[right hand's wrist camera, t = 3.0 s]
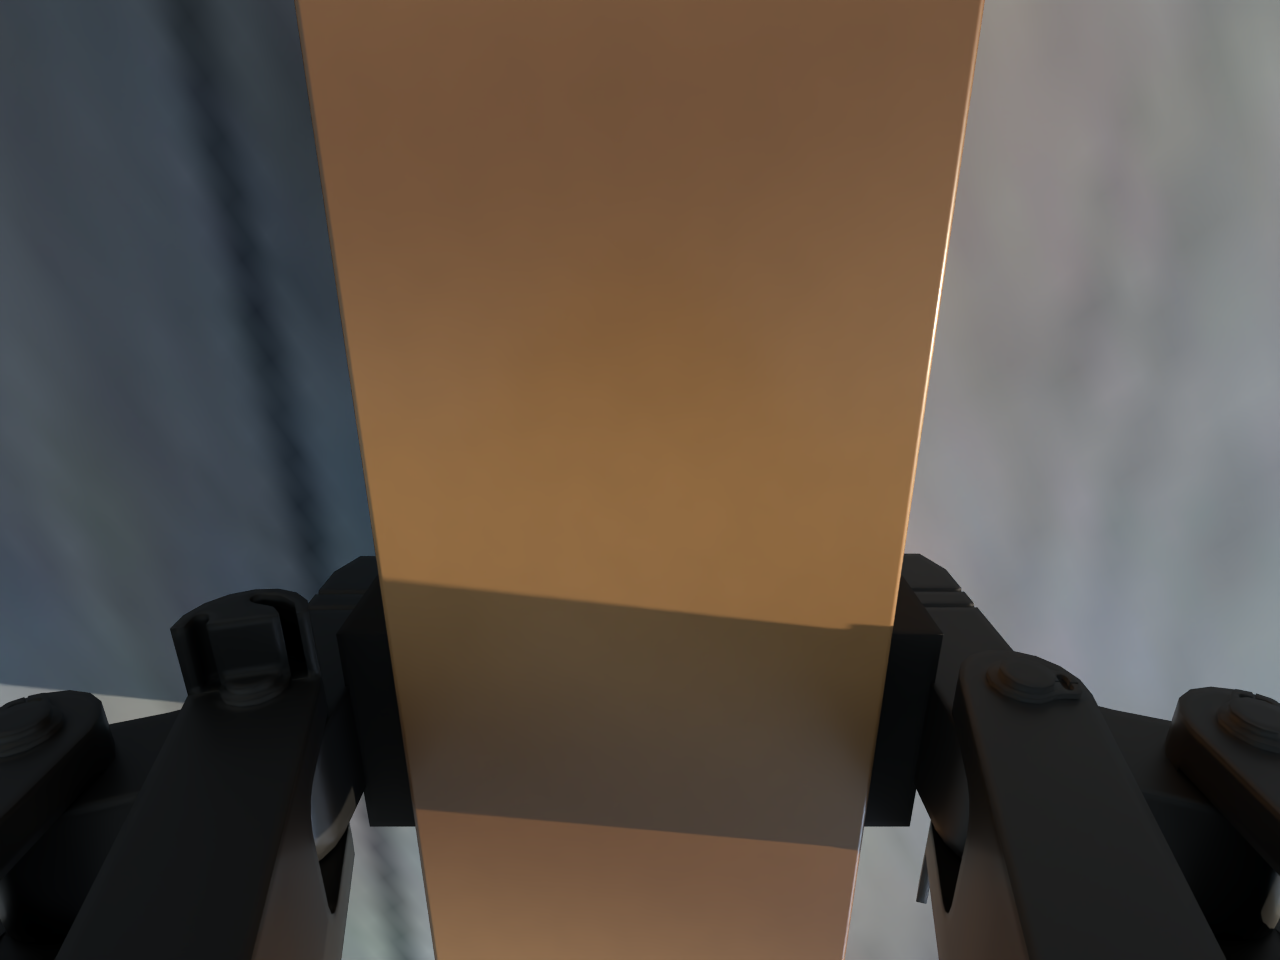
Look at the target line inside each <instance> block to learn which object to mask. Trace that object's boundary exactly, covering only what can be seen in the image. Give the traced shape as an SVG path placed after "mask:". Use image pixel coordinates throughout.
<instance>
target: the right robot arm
mask: <svg viewBox="0 0 1280 960" xmlns="http://www.w3.org/2000/svg"><path fill="white" fill-rule="evenodd" d="M170 631H171V634H172V638H173V642H174V645H175V649H176V653H177V656H178V660H179V664H180V667H181V671H182V675H183V678H184V682H185V686H186V689H187V693H188V697H187V699H186V701H185V703H184V705H183V706H182V708H181V710H177V711H173V712H169V713H165V714H160V715H155V716H150V717H144V718H139V719H134V720H129V721H124V722H119V723H114V724H108V721H107V717H106V714H105V711H104V708H103V705H102V702H101V701H100V700H99V699H98V698H96V697H95V696H94V695H92V694H91V693H87V692H79V691H72V690H67V691H59V692H50V693H40V694H35V695H31V696H28V698H24V697H23V698H20V699H17V700H14V701H11V702H8V703H6V704H5V705H3V706H2V707H0V960H341V958H342V950H343V942H344V934H345V926H346V918H347V910H348V903H349V895H350V887H351V879H352V871H353V863H354V855H355V853H354V846H353V839H352V833H351V828H350V823H349V822H350V819H351V817H352V815H353V813H354V811H355V809H356V807H357V805H358V802H359V800H360V798H361V796H362V794H363V792H364V796H365V801H366V807H367V813H368V818H369V824H370V826H415V819H414V813H413V806H412V799H411V792H410V785H409V779H408V772H407V765H406V758H405V751H404V744H403V738H402V731H401V724H400V717H399V710H398V704H397V697H396V690H395V683H394V676H393V670H392V663H391V656H390V649H389V642H388V636H387V629H386V622H385V615H384V608H383V602H382V595H381V588H380V581H379V574H378V567H377V561H376V556H360V557H358V558H357V559H355V560H353V561H352V562H350V563H348V564H347V565H345V566H343V567H342V568H340V569H338V570H337V571H335V572H334V573H333V574H332V575H331V576H330V578H329V579H328V580H327V581H326V583H325V584H324V585H323V586H322V587H321V589H320V590H319V594H316V595H315V596H314V597H313V598H312V600H311V601H310V602H309V603H308V601H307V600H306V599H305V598H303V597H302V596H301V595H299V594H298V593H296V592H292V591H287V590H282V589H255V590H250V591H245V592H240V593H235V594H229V595H227V596H224V597H221V598H218V599H215V600H213V601H210V602H207V603H204V604H202V605H201V606H199V607H197V608H195V609H194V610H192V611H190V612H188V613H187V614H185V615H183V616H182V617H181V618H180V619H179V620H178V621H177V622H176V623H175V624H174V625H173V626H172V627H171V628H170ZM916 789H917V791H918V793H919V795H920V797H921V800H922V802H923V804H924V806H925V808H926V810H927V812H928V815H929V817H930V819H931V823H930V828H929V833H928V839H927V844H926V849H925V854H924V860H923V865H922V870H921V876H920V881H919V886H918V893H917V900H916V902H921V903H925V904H926V903H927V898H928V893H929V888H930V893H931V901H932V909H933V916H934V924H935V932H936V940H937V948H938V956H939V960H1280V703H1278V702H1277V701H1275V700H1273V699H1271V698H1268V697H1265V696H1262V695H1259V694H1256V695H1254V694H1253V693H1252V692H1248V691H1243V690H1238V689H1226V688H1217V687H1205V688H1198V689H1190V690H1189V691H1188V692H1186V693H1185V694H1184V695H1182V696H1181V697H1180V698H1179V700H1178V703H1177V706H1176V709H1175V712H1174V716H1173V719H1172V721H1168V720H1163V719H1158V718H1152V717H1147V716H1142V715H1137V714H1132V713H1127V712H1122V711H1117V710H1112V709H1108V708H1104V707H1100V706H1098V705H1097V703H1096V701H1095V699H1094V697H1093V695H1092V694H1091V693H1090V691H1089V690H1088V689H1087V688H1086V686H1085V685H1084V684H1083V683H1082V682H1081V680H1080V679H1078V678H1077V677H1075V676H1074V675H1072V674H1071V673H1069V672H1068V671H1066V670H1065V669H1063V668H1062V667H1060V666H1058V665H1056V664H1053V663H1051V662H1049V661H1046V660H1044V659H1042V658H1039V657H1037V656H1033V655H1028V654H1024V653H1020V652H1015V651H1013V650H1012V649H1011V647H1010V646H1009V645H1008V644H1007V643H1006V641H1005V640H1004V639H1003V638H1002V637H1001V635H1000V634H999V633H998V632H997V631H996V629H995V628H994V627H993V626H992V625H991V623H990V622H989V621H988V620H987V619H986V617H985V616H984V615H983V614H982V613H981V611H980V610H979V609H978V608H977V607H974V603H973V602H972V600H971V599H970V598H969V597H968V596H967V594H966V593H965V592H961V587H960V586H959V585H958V584H957V582H956V581H955V580H954V579H953V578H952V576H951V575H950V574H949V573H948V572H947V570H946V569H944V568H942V567H941V566H939V565H937V564H936V563H934V562H932V561H931V560H929V559H927V558H926V557H924V556H922V555H921V554H904V556H903V563H902V569H901V576H900V583H899V590H898V597H897V604H896V611H895V617H894V624H893V631H892V638H891V645H890V652H889V658H888V665H887V672H886V679H885V686H884V693H883V699H882V706H881V713H880V720H879V727H878V734H877V741H876V747H875V754H874V761H873V768H872V775H871V782H870V788H869V795H868V802H867V809H866V816H865V823H864V826H910V821H911V816H912V810H913V804H914V799H915V793H916Z"/></svg>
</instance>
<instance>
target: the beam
mask: <svg viewBox="0 0 1280 960" xmlns="http://www.w3.org/2000/svg"><path fill="white" fill-rule="evenodd" d="M984 1H985V0H294V2H295V9H296V16H297V23H298V30H299V36H300V43H301V50H302V57H303V64H304V71H305V77H306V84H307V91H308V98H309V105H310V111H311V118H312V125H313V132H314V139H315V145H316V152H317V159H318V166H319V173H320V179H321V186H322V193H323V200H324V207H325V213H326V220H327V227H328V234H329V241H330V248H331V254H332V261H333V268H334V275H335V282H336V288H337V295H338V302H339V309H340V316H341V322H342V329H343V336H344V343H345V350H346V356H347V363H348V370H349V377H350V384H351V390H352V397H353V404H354V411H355V418H356V425H357V431H358V438H359V445H360V452H361V459H362V465H363V472H364V479H365V486H366V493H367V499H368V506H369V513H370V520H371V527H372V533H373V540H374V547H375V554H376V561H377V567H378V574H379V581H380V588H381V595H382V602H383V608H384V615H385V622H386V629H387V636H388V642H389V649H390V656H391V663H392V670H393V676H394V683H395V690H396V697H397V704H398V710H399V717H400V724H401V731H402V738H403V744H404V751H405V758H406V765H407V772H408V779H409V785H410V792H411V799H412V806H413V813H414V819H415V826H416V833H417V840H418V847H419V853H420V860H421V867H422V874H423V881H424V887H425V894H426V901H427V908H428V915H429V921H430V928H431V935H432V942H433V949H434V956H435V960H845V953H846V946H847V939H848V932H849V925H850V918H851V912H852V905H853V898H854V891H855V884H856V877H857V871H858V864H859V857H860V850H861V843H862V836H863V830H864V823H865V816H866V809H867V802H868V795H869V788H870V782H871V775H872V768H873V761H874V754H875V747H876V741H877V734H878V727H879V720H880V713H881V706H882V699H883V693H884V686H885V679H886V672H887V665H888V658H889V652H890V645H891V638H892V631H893V624H894V617H895V611H896V604H897V597H898V590H899V583H900V576H901V569H902V563H903V556H904V549H905V542H906V535H907V528H908V522H909V515H910V508H911V501H912V494H913V487H914V480H915V474H916V467H917V460H918V453H919V446H920V439H921V433H922V426H923V419H924V412H925V405H926V398H927V391H928V385H929V378H930V371H931V364H932V357H933V350H934V344H935V337H936V330H937V323H938V316H939V309H940V303H941V296H942V289H943V282H944V275H945V268H946V261H947V255H948V248H949V241H950V234H951V227H952V220H953V214H954V207H955V200H956V193H957V186H958V179H959V173H960V166H961V159H962V152H963V145H964V138H965V131H966V125H967V118H968V111H969V104H970V97H971V90H972V84H973V77H974V70H975V63H976V56H977V49H978V42H979V36H980V29H981V22H982V15H983V8H984Z"/></svg>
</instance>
